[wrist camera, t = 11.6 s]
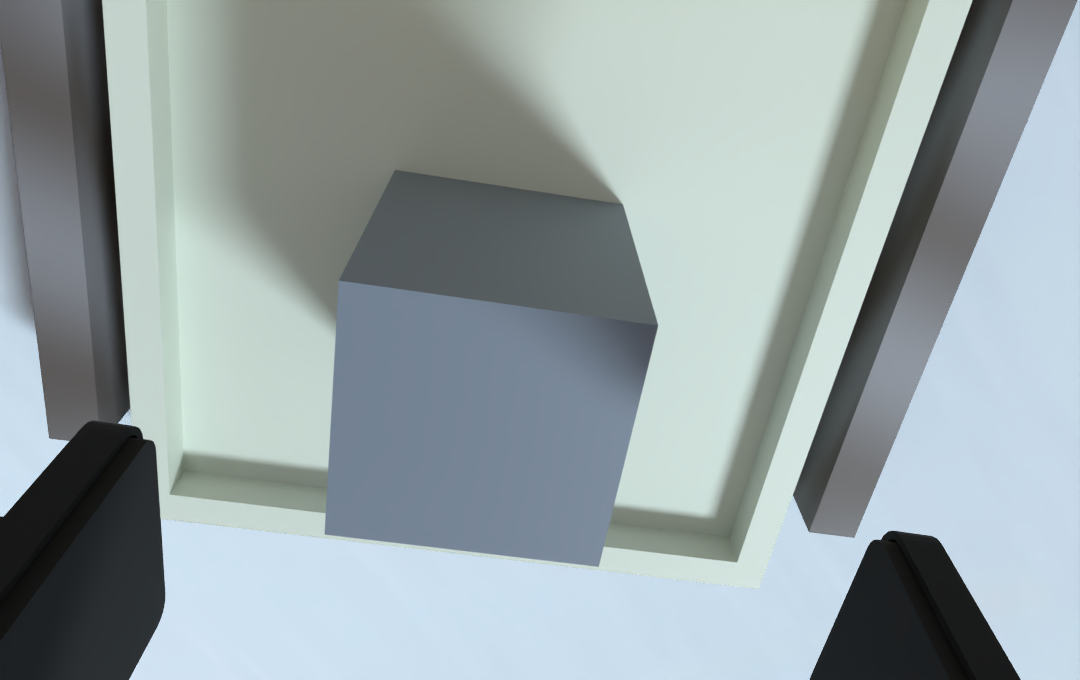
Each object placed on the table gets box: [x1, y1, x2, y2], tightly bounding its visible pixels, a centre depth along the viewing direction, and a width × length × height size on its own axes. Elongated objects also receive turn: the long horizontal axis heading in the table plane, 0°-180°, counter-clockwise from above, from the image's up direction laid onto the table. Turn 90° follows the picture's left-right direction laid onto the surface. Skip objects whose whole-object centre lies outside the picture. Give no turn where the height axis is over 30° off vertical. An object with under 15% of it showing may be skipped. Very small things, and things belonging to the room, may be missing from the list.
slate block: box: [325, 170, 658, 567], centre depth 17 cm, size 5×5×6 cm
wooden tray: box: [102, 0, 973, 589], centre depth 17 cm, size 20×16×6 cm
